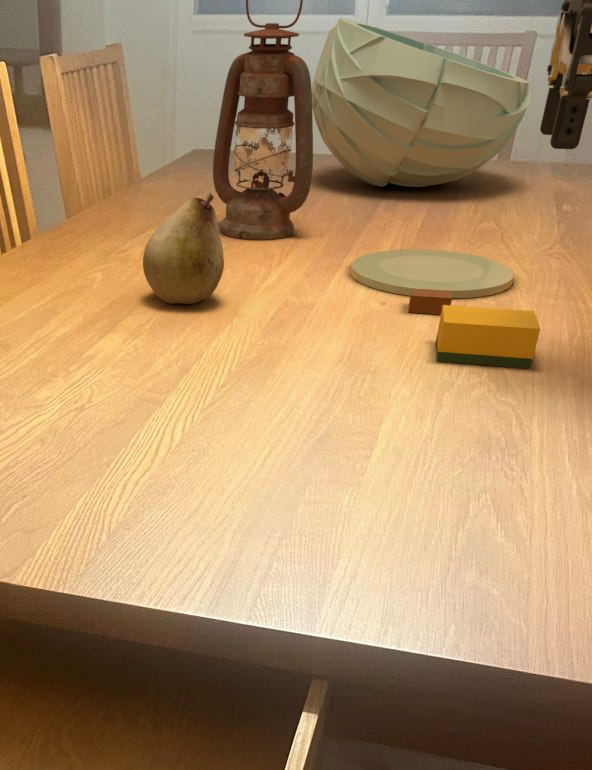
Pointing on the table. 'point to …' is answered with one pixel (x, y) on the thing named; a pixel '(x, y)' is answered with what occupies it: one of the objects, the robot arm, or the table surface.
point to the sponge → (487, 336)
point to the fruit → (185, 254)
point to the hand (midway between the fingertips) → (557, 141)
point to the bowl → (410, 107)
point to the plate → (432, 272)
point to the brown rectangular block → (428, 300)
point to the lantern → (265, 110)
